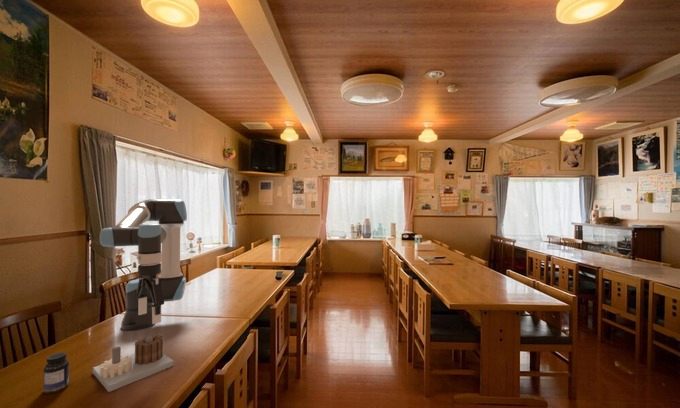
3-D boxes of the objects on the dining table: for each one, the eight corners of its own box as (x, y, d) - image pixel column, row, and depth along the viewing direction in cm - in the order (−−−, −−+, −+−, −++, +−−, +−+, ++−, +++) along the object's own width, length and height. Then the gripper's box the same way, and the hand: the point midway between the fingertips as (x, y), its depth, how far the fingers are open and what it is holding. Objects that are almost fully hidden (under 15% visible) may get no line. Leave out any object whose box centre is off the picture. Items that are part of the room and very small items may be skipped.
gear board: (92, 373, 107) (93, 345, 107) (153, 351, 123) (154, 327, 123) (108, 392, 96) (108, 361, 96) (173, 365, 112) (173, 339, 112)
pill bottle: (54, 383, 100) (55, 351, 101) (73, 382, 101) (74, 350, 101) (37, 395, 94) (38, 360, 94) (58, 394, 95) (58, 359, 95)
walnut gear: (131, 359, 113) (131, 341, 113) (157, 350, 120) (157, 333, 120) (139, 367, 107) (140, 348, 107) (166, 357, 114) (166, 339, 114)
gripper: (126, 261, 118) (126, 313, 118) (151, 270, 103) (151, 330, 103) (147, 258, 124) (147, 308, 124) (174, 266, 109) (174, 323, 109)
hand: (149, 318), depth 114 cm, fingers open, 13 cm apart
